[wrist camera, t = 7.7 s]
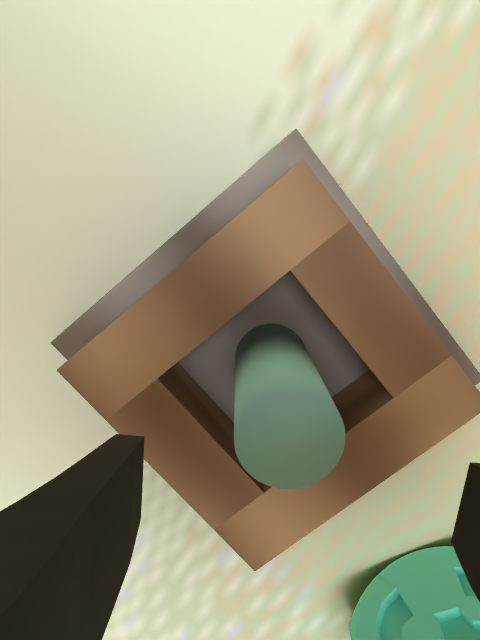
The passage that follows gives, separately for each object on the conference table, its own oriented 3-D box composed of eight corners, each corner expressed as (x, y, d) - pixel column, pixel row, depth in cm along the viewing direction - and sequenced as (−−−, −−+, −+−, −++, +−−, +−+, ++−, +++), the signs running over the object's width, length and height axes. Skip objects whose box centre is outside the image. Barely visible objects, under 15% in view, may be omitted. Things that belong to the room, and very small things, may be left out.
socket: (249, 537, 22) (251, 600, 18) (56, 338, 19) (15, 367, 16) (476, 374, 20) (528, 409, 16) (294, 131, 17) (308, 110, 14)
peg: (268, 404, 19) (285, 508, 12) (220, 357, 19) (210, 438, 12) (321, 359, 19) (368, 441, 12) (272, 309, 18) (293, 364, 12)
